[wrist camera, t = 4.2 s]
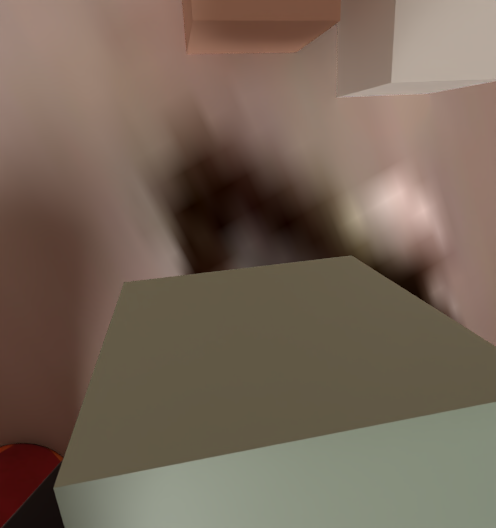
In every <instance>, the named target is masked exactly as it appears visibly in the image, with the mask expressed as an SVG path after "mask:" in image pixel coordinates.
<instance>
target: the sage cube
mask: <svg viewBox="0 0 496 528" xmlns="http://www.w3.org/2000/svg"><path fill="white" fill-rule="evenodd" d="M53 489H54V492H55V496H56V499H57V503H58V506H59V510H60V513H61V517H62V520H63V524H64V527H65V528H496V347H495V346H494V345H492V344H491V343H489V342H487V341H486V340H484V339H483V338H481V337H480V336H478V335H476V334H475V333H473V332H472V331H470V330H468V329H467V328H465V327H464V326H462V325H461V324H459V323H457V322H456V321H454V320H453V319H451V318H449V317H448V316H446V315H445V314H443V313H442V312H440V311H438V310H437V309H435V308H434V307H432V306H430V305H429V304H427V303H426V302H424V301H423V300H421V299H419V298H418V297H416V296H415V295H413V294H411V293H410V292H408V291H407V290H405V289H404V288H402V287H400V286H399V285H397V284H396V283H394V282H392V281H391V280H389V279H388V278H386V277H385V276H383V275H381V274H380V273H378V272H377V271H375V270H373V269H372V268H370V267H369V266H367V265H366V264H364V263H362V262H361V261H359V260H358V259H356V258H355V257H353V256H344V257H335V258H327V259H318V260H310V261H301V262H293V263H284V264H276V265H267V266H259V267H251V268H242V269H234V270H225V271H217V272H208V273H200V274H191V275H183V276H174V277H166V278H157V279H149V280H140V281H132V282H124V284H123V287H122V290H121V293H120V296H119V299H118V301H117V304H116V307H115V310H114V313H113V316H112V319H111V322H110V325H109V328H108V331H107V333H106V336H105V339H104V342H103V345H102V348H101V351H100V354H99V357H98V360H97V363H96V365H95V368H94V371H93V374H92V377H91V380H90V383H89V386H88V389H87V392H86V395H85V397H84V400H83V403H82V406H81V409H80V412H79V415H78V418H77V421H76V424H75V426H74V429H73V432H72V435H71V438H70V441H69V444H68V447H67V450H66V453H65V456H64V458H63V461H62V464H61V467H60V470H59V473H58V476H57V479H56V482H55V485H54V488H53Z"/></svg>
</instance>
